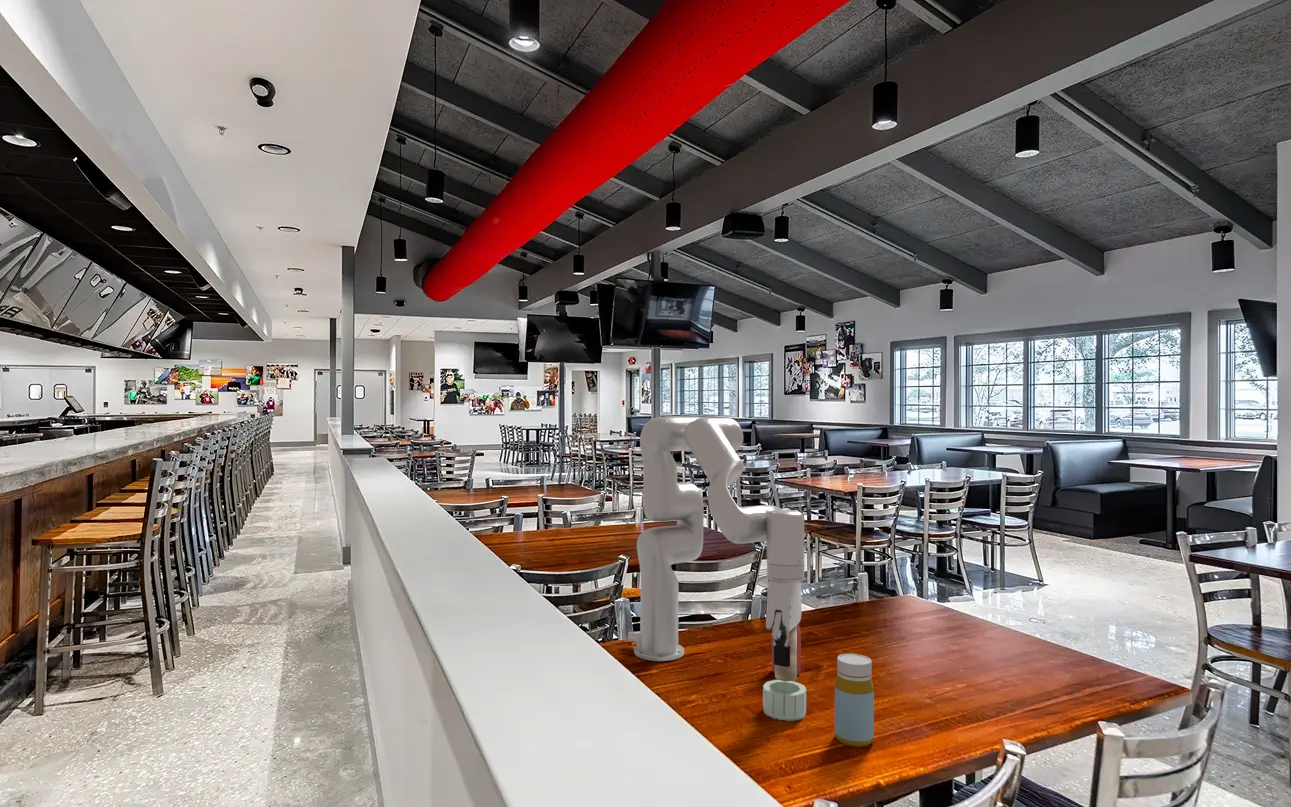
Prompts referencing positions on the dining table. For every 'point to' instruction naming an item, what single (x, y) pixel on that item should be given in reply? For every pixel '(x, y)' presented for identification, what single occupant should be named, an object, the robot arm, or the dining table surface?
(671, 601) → the robot arm
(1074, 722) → the dining table surface
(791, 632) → the plug
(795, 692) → the cup
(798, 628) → the beer can
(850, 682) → the bottle
